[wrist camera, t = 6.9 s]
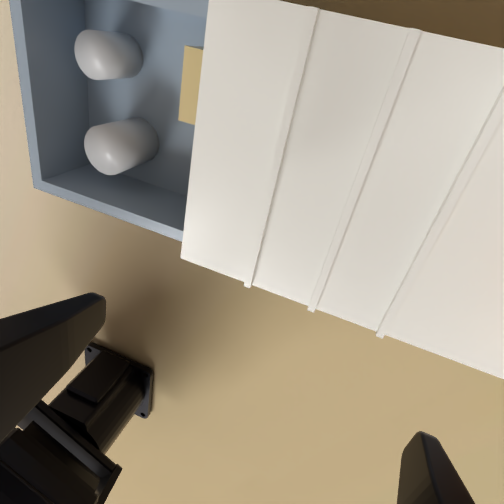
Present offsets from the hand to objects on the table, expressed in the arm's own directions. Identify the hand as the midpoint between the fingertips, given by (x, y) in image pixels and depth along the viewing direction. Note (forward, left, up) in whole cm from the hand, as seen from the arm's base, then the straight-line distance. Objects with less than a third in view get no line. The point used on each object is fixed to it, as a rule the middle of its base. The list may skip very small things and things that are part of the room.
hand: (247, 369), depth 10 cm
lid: (+3, -2, -7) cm, 8 cm away
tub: (+3, +8, -11) cm, 14 cm away
